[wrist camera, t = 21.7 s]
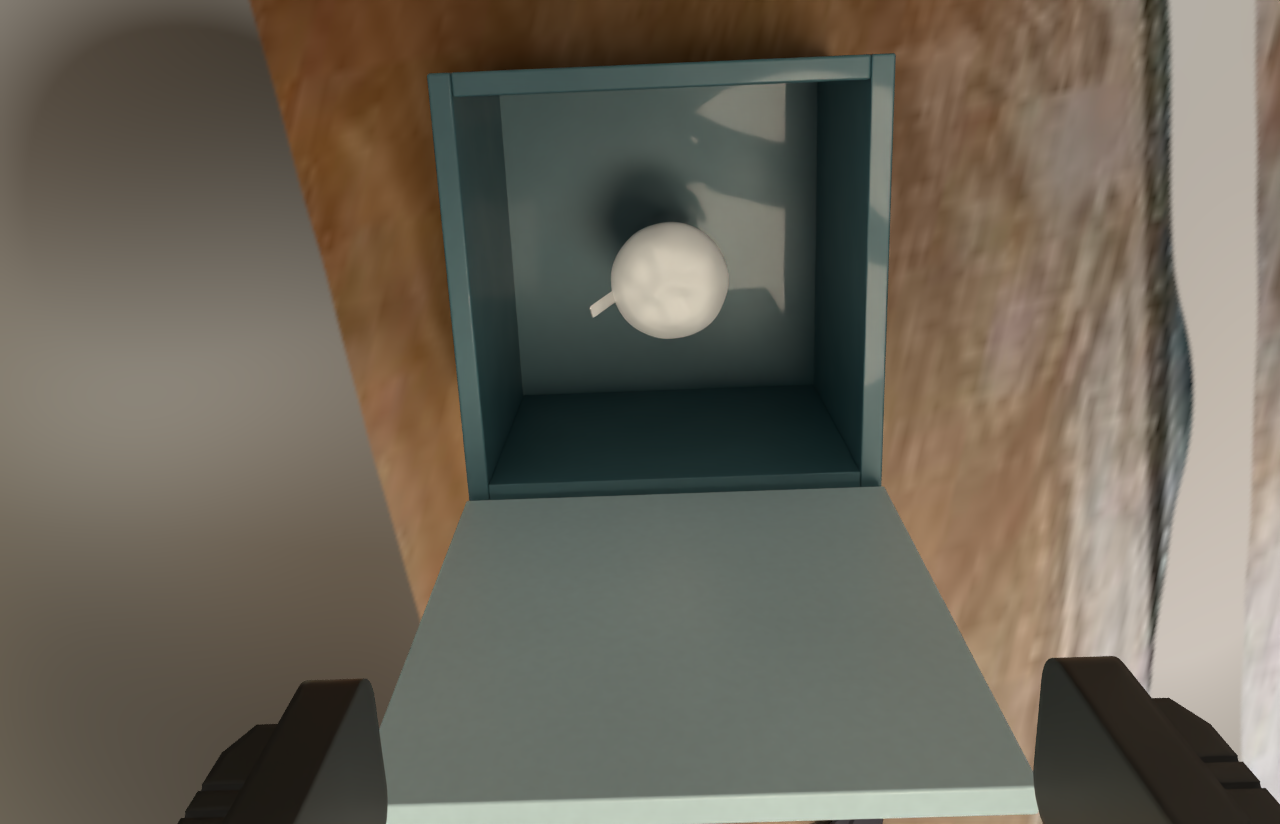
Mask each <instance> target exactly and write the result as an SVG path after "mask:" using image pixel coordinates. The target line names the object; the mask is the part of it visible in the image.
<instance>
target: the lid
mask: <svg viewBox="0 0 1280 824" xmlns="http://www.w3.org/2000/svg"><path fill="white" fill-rule="evenodd" d="M379 733H380V740H381V747H382V754H383V762H384V769H385V776H386V783H387V795H388V808H387V821H386V824H710V823H745V822H780V821H815V820H850V819H884V818H919V817H954V816H989V815H1024V814H1037V813H1038V806H1037V802H1036V797H1035V790H1034V778H1033V771H1032V769H1031V767H1030V765H1029V763H1028V761H1027V759H1026V757H1025V756H1024V754H1023V752H1022V750H1021V748H1020V746H1019V744H1018V742H1017V740H1016V738H1015V736H1014V735H1013V733H1012V731H1011V729H1010V727H1009V725H1008V723H1007V721H1006V719H1005V717H1004V715H1003V713H1002V712H1001V710H1000V708H999V706H998V704H997V702H996V700H995V698H994V696H993V694H992V692H991V690H990V689H989V687H988V685H987V683H986V681H985V679H984V677H983V675H982V673H981V671H980V669H979V667H978V666H977V664H976V662H975V660H974V658H973V656H972V654H971V652H970V650H969V648H968V646H967V645H966V643H965V641H964V639H963V637H962V635H961V633H960V631H959V629H958V627H957V625H956V623H955V622H954V620H953V618H952V616H951V614H950V612H949V610H948V608H947V606H946V604H945V602H944V600H943V599H942V597H941V595H940V593H939V591H938V589H937V587H936V585H935V583H934V581H933V579H932V578H931V576H930V574H929V572H928V570H927V568H926V566H925V564H924V562H923V560H922V558H921V556H920V555H919V553H918V551H917V549H916V547H915V545H914V543H913V541H912V539H911V537H910V535H909V533H908V532H907V530H906V528H905V526H904V524H903V522H902V520H901V518H900V516H899V514H898V512H897V510H896V509H895V507H894V505H893V503H892V501H891V499H890V497H889V495H888V493H887V491H886V489H885V488H884V487H883V486H880V487H852V488H823V489H795V490H766V491H737V492H709V493H680V494H652V495H623V496H595V497H566V498H538V499H509V500H481V501H467V502H466V505H465V507H464V510H463V512H462V515H461V518H460V520H459V523H458V526H457V528H456V531H455V533H454V536H453V539H452V541H451V544H450V546H449V549H448V552H447V554H446V557H445V559H444V562H443V565H442V567H441V570H440V572H439V575H438V578H437V580H436V583H435V585H434V588H433V591H432V593H431V596H430V598H429V601H428V604H427V606H426V609H425V611H424V614H423V617H422V619H421V622H420V624H419V627H418V630H417V632H416V635H415V637H414V640H413V643H412V645H411V648H410V651H409V653H408V656H407V658H406V661H405V664H404V666H403V669H402V672H401V674H400V677H399V679H398V682H397V685H396V687H395V690H394V692H393V695H392V697H391V700H390V703H389V705H388V708H387V711H386V713H385V716H384V718H383V721H382V724H381V726H380V729H379Z"/></svg>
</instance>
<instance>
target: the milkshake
mask: <svg viewBox="0 0 1280 824" xmlns="http://www.w3.org/2000/svg"><path fill="white" fill-rule="evenodd" d="M611 288H612V291H611V292H610V293H608V294H607V295H605V296H604V297H602V298H601V299H600V300H598V301H597V302H595V303H594V304H592V305H591V306H590V307H589V310H590V313H591V317H592V318H594V317H596V316H597V315H598V314H600V313H601V312H603V311H604V310H605V309H607V308H608V307H610V306H611V305H612V304H614V303H616V305H617V308H618V309H619V311H620V313H621V314H622V316H623V317H624V319H625V320H626V321H627V322H628V323H629V324H630V325H632V326H633V327H634V328H636V329H637V330H639V331H641V332H643V333H645V334H647V335H650V336H653V337H656V338H662V339H674V338H680V337H685V336H689V335H692V334H695V333H697V332H699V331H701V330H703V329H704V328H705V327H707V326H708V325H709V324H710V323H712V321H713V320H714V319H715V318H716V317H717V315H718V313H719V312H720V310H721V307H722V305H723V303H724V300H725V297H726V294H727V290H728V271H727V266H726V263H725V260H724V257H723V255H722V253H721V251H720V250H719V248H718V247H717V245H716V244H715V243H714V242H713V240H712V239H711V238H709V237H708V236H707V235H706V234H705V233H703V232H702V231H700V230H699V229H697V228H696V227H695V226H694V225H693V224H692V223H691V222H690V221H688V220H686V219H683V218H681V217H678V216H676V215H673V214H671V213H665V214H662V215H658V216H654V217H650V218H647V219H646V220H645V221H644V222H643V224H642V225H641V226H640V227H639V228H638V230H637V231H636V232H635V233H634V234H633V235H632V236H631V237H630V238H629V239H628V240H627V241H626V243H625V244H624V245H623V246H622V248H621V249H620V251H619V252H618V254H617V256H616V258H615V260H614V263H613V266H612V271H611Z"/></svg>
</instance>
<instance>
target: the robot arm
mask: <svg viewBox="0 0 1280 824" xmlns="http://www.w3.org/2000/svg"><path fill="white" fill-rule="evenodd" d="M1033 778H1034V790H1035V797H1036V802H1037V806H1038V810H1039V813H1040V817H1041V819H1042V822H1043V824H1280V804H1279V803H1278V802H1277V801H1276V800H1275V798H1274V797H1273V796H1272V795H1271V794H1270V793H1269V791H1268V790H1267V789H1266V788H1261V786H1260V781H1259V780H1258V779H1257V778H1256V776H1255V775H1254V774H1253V773H1252V772H1251V771H1250V769H1249V768H1248V767H1247V766H1246V765H1245V764H1244V763H1243V762H1239V761H1238V758H1237V754H1236V753H1235V752H1234V751H1233V750H1232V749H1231V748H1230V747H1229V745H1228V744H1227V743H1226V742H1225V741H1224V740H1223V738H1222V737H1221V736H1220V735H1219V734H1218V732H1217V731H1216V730H1215V729H1214V728H1213V727H1212V725H1211V724H1209V723H1208V722H1206V721H1204V720H1203V719H1201V718H1200V717H1198V716H1196V715H1195V714H1193V713H1192V712H1190V711H1189V710H1187V709H1186V708H1184V707H1182V706H1181V705H1179V704H1178V703H1176V702H1175V701H1173V700H1171V699H1170V698H1151V697H1150V695H1149V694H1148V693H1147V692H1146V690H1145V689H1144V688H1143V687H1142V686H1141V684H1140V683H1139V682H1138V681H1137V679H1136V678H1135V677H1134V676H1133V674H1132V673H1131V672H1130V671H1129V669H1128V668H1127V667H1126V666H1125V664H1124V663H1123V662H1122V661H1121V660H1120V659H1119V658H1117V657H1114V656H1102V657H1071V658H1050V659H1049V660H1047V662H1046V663H1045V666H1044V668H1043V673H1042V680H1041V691H1040V702H1039V713H1038V724H1037V735H1036V746H1035V757H1034V770H1033ZM387 808H388V795H387V783H386V776H385V769H384V762H383V754H382V747H381V740H380V733H379V726H378V719H377V712H376V704H375V698H374V692H373V688H372V686H371V683H370V682H369V680H367V679H339V680H307V681H304V682H302V683H301V685H300V686H299V688H298V689H297V691H296V693H295V694H294V696H293V698H292V700H291V701H290V703H289V705H288V707H287V709H286V710H285V712H284V714H283V716H282V717H281V719H280V721H279V723H278V724H269V725H268V724H265V725H256V726H255V727H253V728H252V729H251V730H250V731H248V732H247V733H246V734H245V735H243V736H242V737H241V738H240V739H238V741H236V742H235V743H233V744H232V745H231V746H230V747H229V748H227V749H226V750H225V751H224V752H222V754H221V755H220V757H219V758H218V760H217V761H216V763H215V765H214V766H213V768H212V770H211V771H210V773H209V774H208V776H207V777H206V779H205V781H204V782H203V784H202V790H201V791H198V792H197V793H196V795H195V797H194V798H193V800H192V802H191V803H190V805H189V806H188V808H187V809H186V811H185V813H186V814H185V818H181V819H180V821H179V822H178V824H386V821H387Z"/></svg>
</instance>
